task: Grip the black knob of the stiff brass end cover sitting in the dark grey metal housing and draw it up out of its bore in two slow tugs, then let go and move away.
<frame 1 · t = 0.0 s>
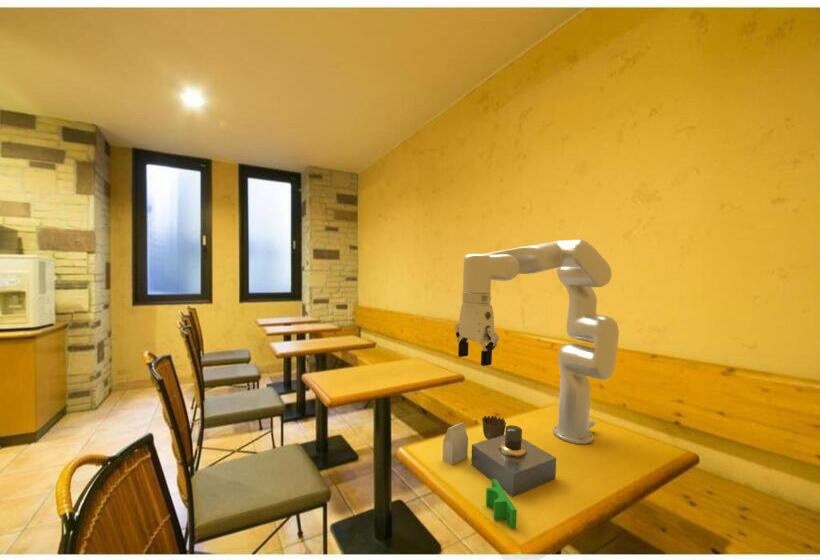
hand: (474, 360, 98), 31 cm above the table, tool pointing down, fingers open, 9 cm apart
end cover: (513, 448, 99), point 7 cm above the table, slide at 0.0 cm
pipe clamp: (497, 513, 83), on the table
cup: (493, 444, 114), on the table
housing: (512, 471, 99), on the table
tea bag: (455, 459, 106), on the table
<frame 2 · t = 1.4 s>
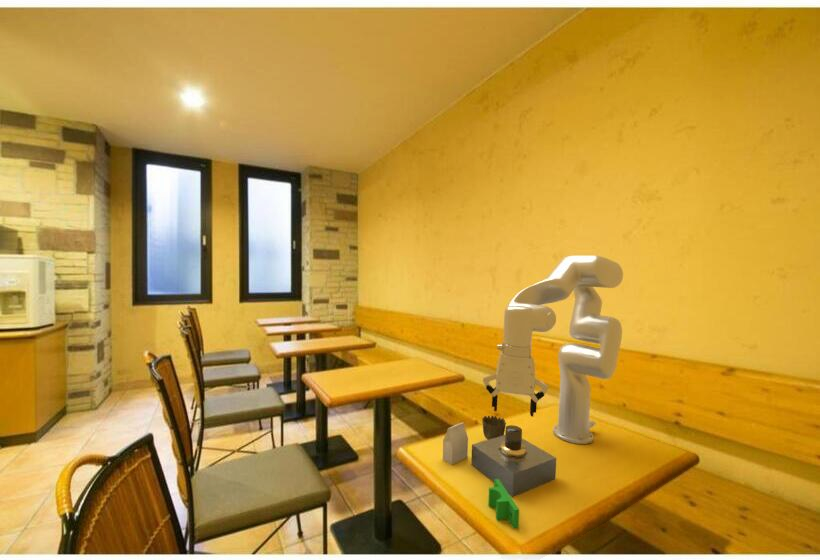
hand: (513, 412, 98), 17 cm above the table, tool pointing down, fingers open, 9 cm apart
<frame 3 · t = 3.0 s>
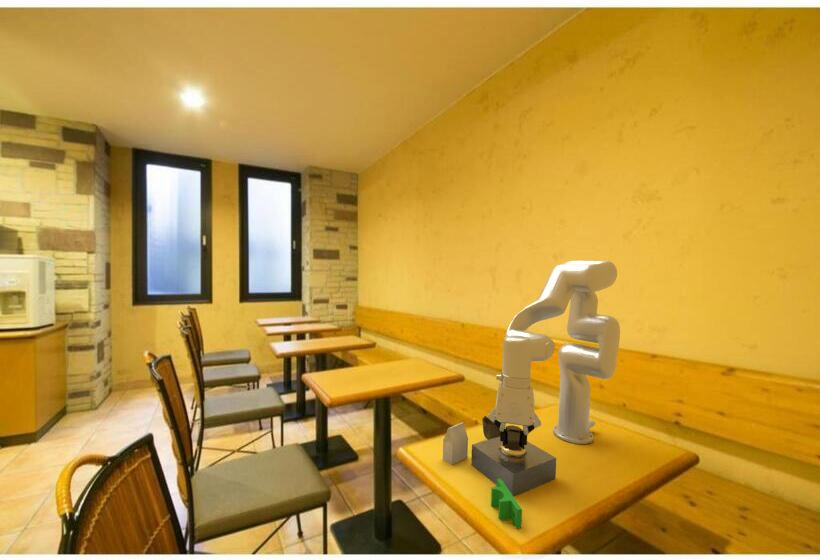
hand: (513, 444, 99), 8 cm above the table, tool pointing down, fingers closed on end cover, 4 cm apart
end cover: (513, 448, 99), point 7 cm above the table, slide at 0.0 cm, touching gripper
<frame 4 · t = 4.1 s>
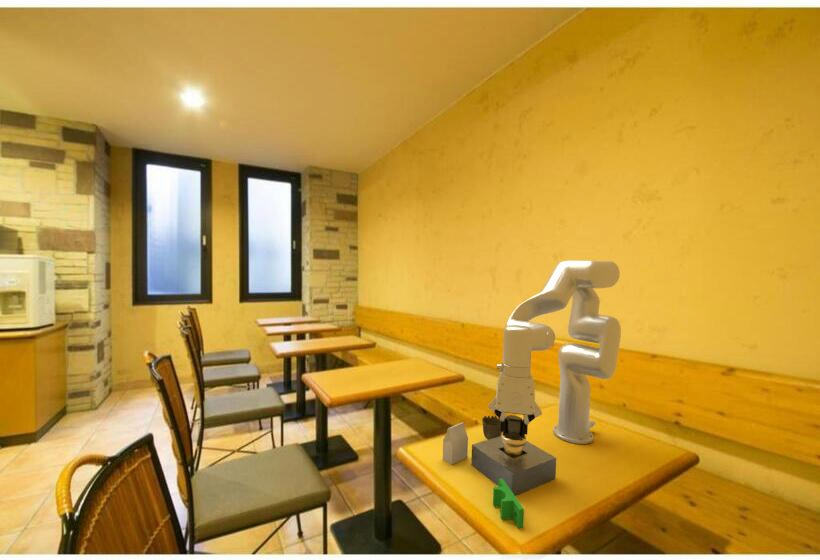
hand: (513, 434, 99), 11 cm above the table, tool pointing down, fingers closed on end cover, 4 cm apart
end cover: (513, 438, 99), point 10 cm above the table, slide at 2.9 cm, touching gripper
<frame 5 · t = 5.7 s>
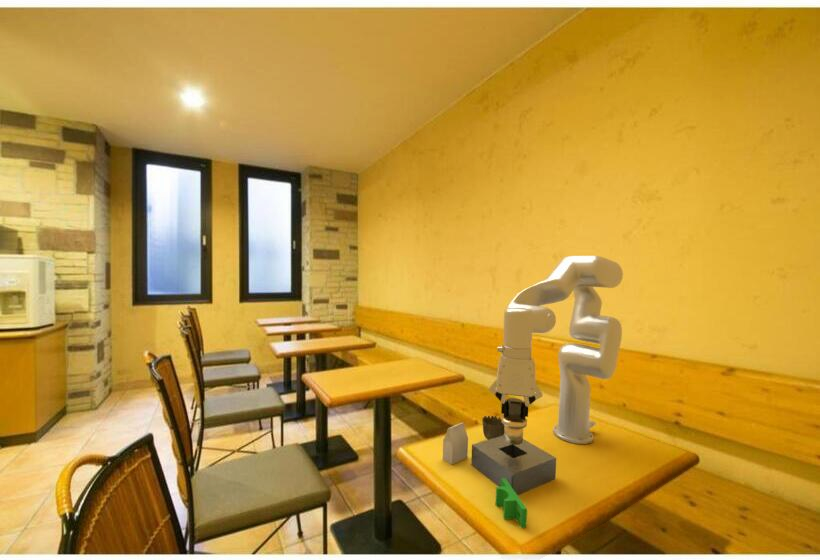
hand: (514, 416, 99), 16 cm above the table, tool pointing down, fingers closed on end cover, 4 cm apart
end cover: (514, 420, 99), point 15 cm above the table, slide at 7.9 cm, touching gripper
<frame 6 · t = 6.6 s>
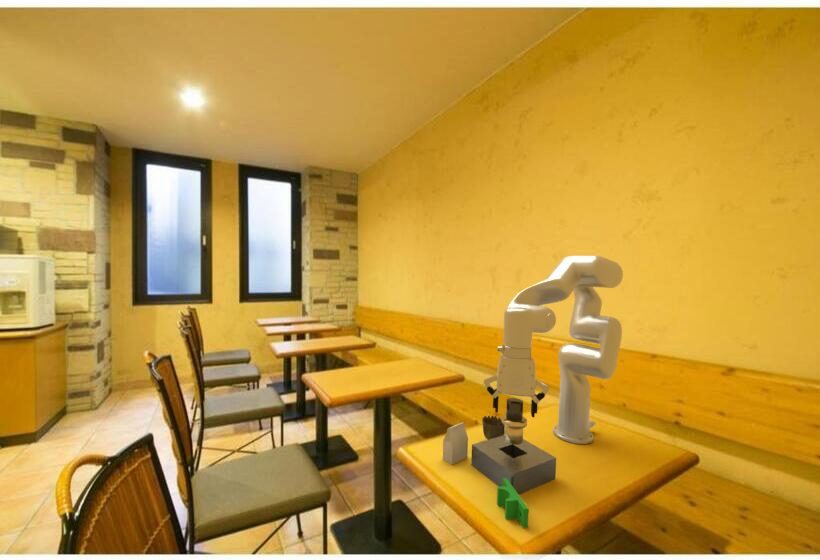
hand: (514, 413, 98), 17 cm above the table, tool pointing down, fingers open, 9 cm apart
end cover: (514, 420, 99), point 15 cm above the table, slide at 7.9 cm
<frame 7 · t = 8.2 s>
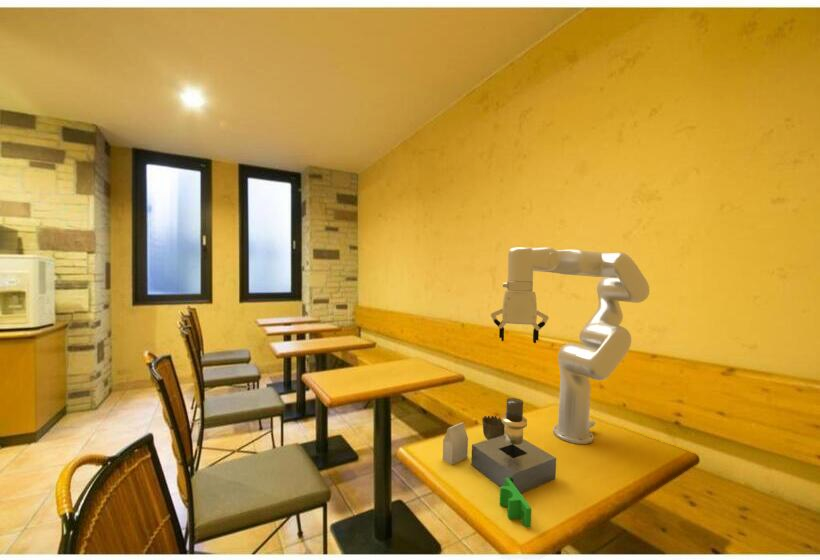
hand: (518, 341, 111), 34 cm above the table, tool pointing down, fingers open, 9 cm apart
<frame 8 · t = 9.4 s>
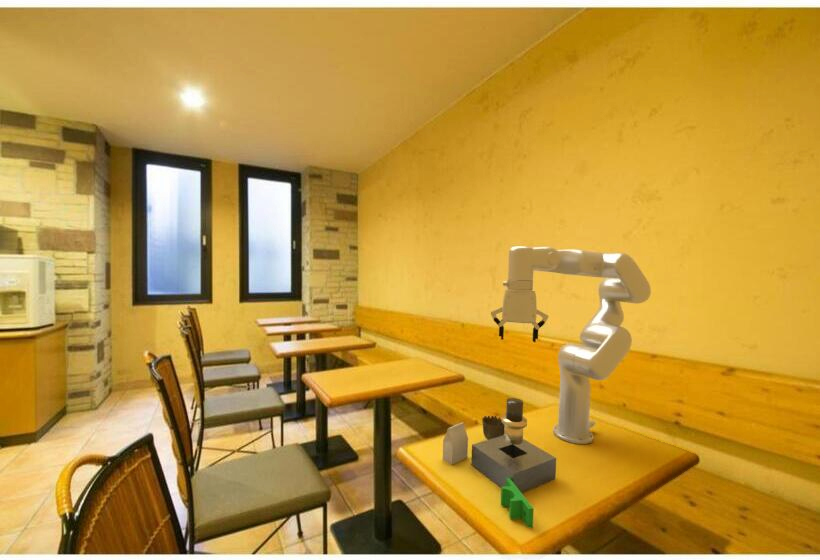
hand: (517, 340, 112), 34 cm above the table, tool pointing down, fingers open, 9 cm apart
at the end: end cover slide at 7.9 cm; the gripper is holding nothing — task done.
